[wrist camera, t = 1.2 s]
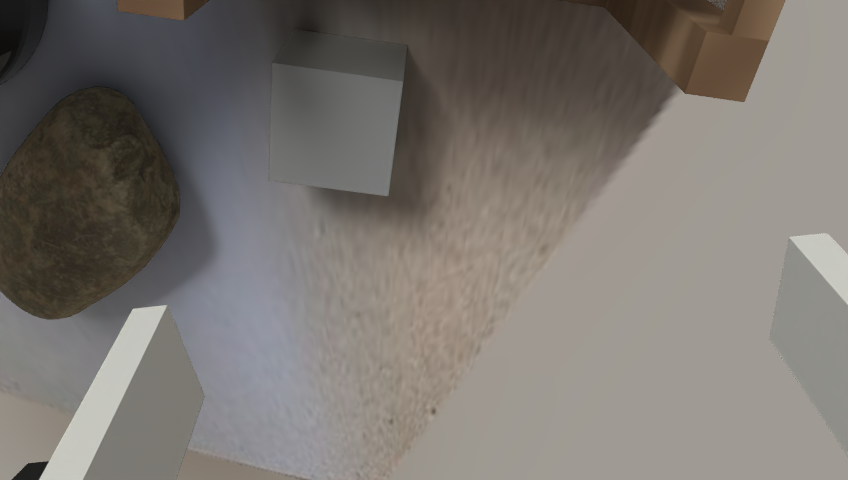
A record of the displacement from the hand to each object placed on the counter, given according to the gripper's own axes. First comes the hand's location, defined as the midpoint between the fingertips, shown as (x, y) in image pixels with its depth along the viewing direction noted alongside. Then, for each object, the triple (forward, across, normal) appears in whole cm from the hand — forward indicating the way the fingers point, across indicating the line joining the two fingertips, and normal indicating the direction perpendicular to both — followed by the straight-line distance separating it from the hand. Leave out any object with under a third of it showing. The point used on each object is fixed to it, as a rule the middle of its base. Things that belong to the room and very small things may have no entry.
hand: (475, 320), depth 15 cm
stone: (+25, -22, -8) cm, 34 cm away
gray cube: (+25, -5, -3) cm, 26 cm away
